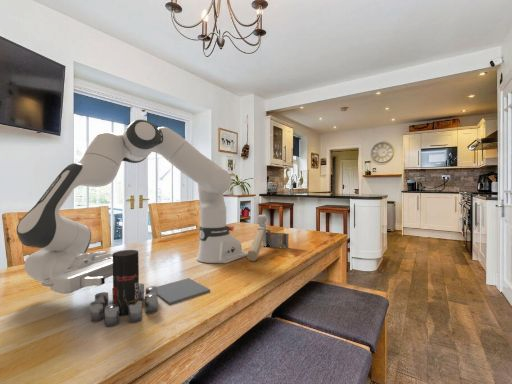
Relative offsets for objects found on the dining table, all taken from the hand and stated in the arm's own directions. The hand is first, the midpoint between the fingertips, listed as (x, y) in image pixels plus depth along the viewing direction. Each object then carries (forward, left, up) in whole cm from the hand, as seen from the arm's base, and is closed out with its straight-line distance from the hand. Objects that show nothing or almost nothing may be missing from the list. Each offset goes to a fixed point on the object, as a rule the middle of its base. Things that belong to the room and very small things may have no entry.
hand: (117, 275), depth 70 cm
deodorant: (-1, +2, -9) cm, 10 cm away
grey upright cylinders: (-1, +2, -9) cm, 9 cm away
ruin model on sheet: (-80, -17, -10) cm, 82 cm away
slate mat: (-17, 0, -9) cm, 19 cm away
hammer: (-65, -15, -9) cm, 68 cm away
